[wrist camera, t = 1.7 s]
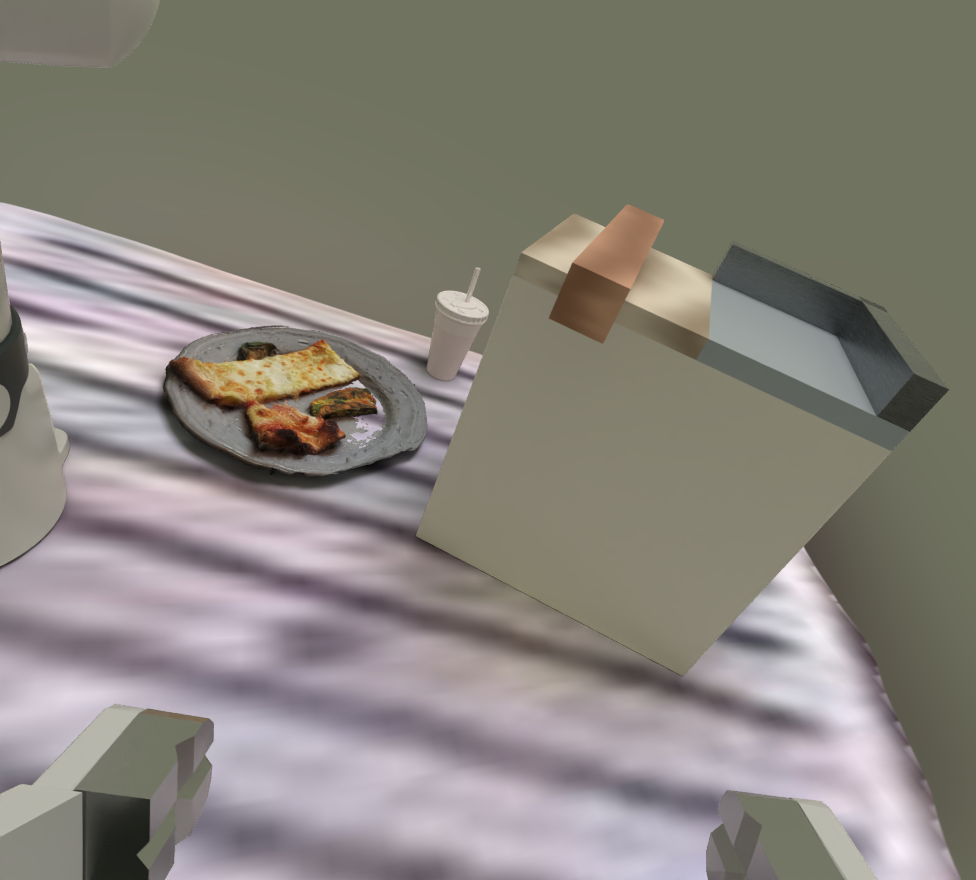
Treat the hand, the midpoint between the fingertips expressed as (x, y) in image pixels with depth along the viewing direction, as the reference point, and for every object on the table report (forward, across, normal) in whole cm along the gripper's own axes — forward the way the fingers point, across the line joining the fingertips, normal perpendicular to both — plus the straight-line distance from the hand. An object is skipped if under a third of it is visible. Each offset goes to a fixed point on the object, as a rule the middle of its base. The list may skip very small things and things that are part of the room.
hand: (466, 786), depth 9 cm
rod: (+31, -6, -10) cm, 33 cm away
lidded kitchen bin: (+45, -10, +14) cm, 48 cm away
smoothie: (+66, +6, +3) cm, 67 cm away
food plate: (+52, +18, +6) cm, 55 cm away
